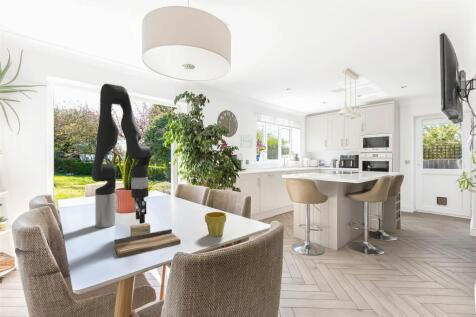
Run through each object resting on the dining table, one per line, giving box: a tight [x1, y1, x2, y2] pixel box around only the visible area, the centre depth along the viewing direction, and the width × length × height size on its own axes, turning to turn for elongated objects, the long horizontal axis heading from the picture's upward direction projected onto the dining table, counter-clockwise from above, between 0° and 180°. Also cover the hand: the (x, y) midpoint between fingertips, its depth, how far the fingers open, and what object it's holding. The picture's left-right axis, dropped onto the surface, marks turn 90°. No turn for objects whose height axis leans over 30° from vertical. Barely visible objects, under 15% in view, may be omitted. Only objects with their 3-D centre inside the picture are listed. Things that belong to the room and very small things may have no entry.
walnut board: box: [113, 228, 182, 258], centre depth 95 cm, size 12×24×3 cm, turn 126°
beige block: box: [129, 222, 151, 237], centre depth 106 cm, size 5×8×5 cm, turn 126°
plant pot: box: [204, 211, 227, 237], centre depth 109 cm, size 10×10×10 cm
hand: (140, 221), depth 106 cm, fingers open, 8 cm apart
